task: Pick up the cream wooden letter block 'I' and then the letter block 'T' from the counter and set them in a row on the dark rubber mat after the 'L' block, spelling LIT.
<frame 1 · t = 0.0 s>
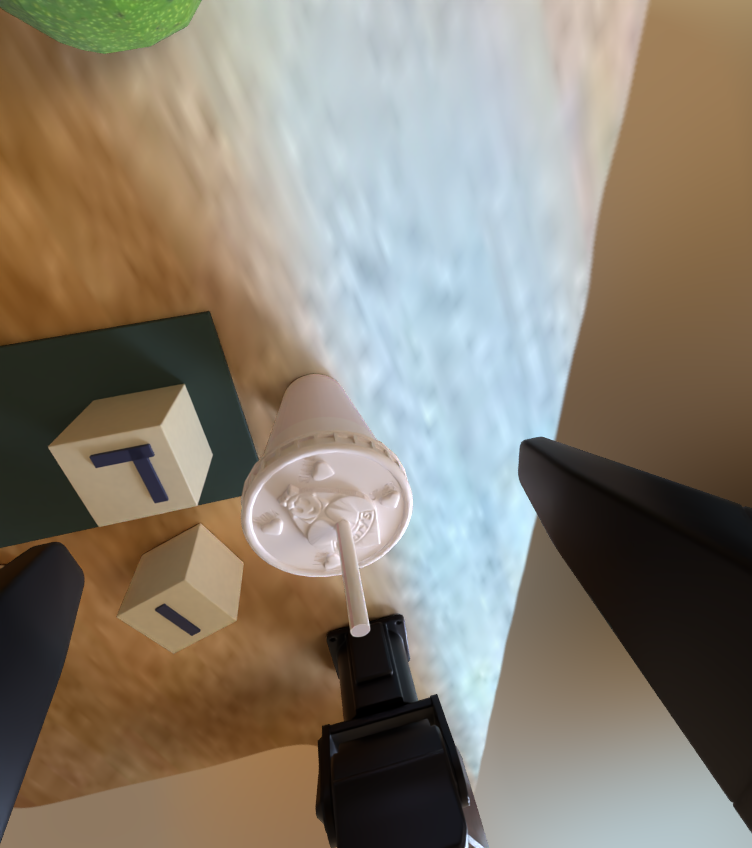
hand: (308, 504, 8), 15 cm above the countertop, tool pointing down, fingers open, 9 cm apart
tile I: (194, 558, 27), on the countertop
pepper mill: (386, 761, 46), on the countertop
tile L: (156, 429, 22), resting on word mat
smoothie: (315, 402, 23), on the countertop
word mat: (52, 446, 21), on the countertop
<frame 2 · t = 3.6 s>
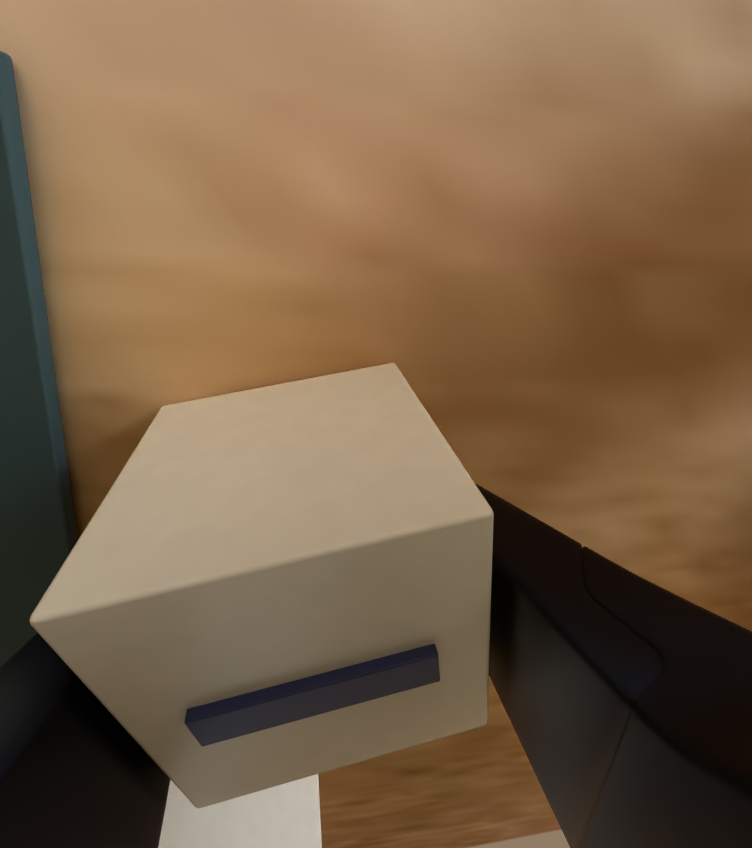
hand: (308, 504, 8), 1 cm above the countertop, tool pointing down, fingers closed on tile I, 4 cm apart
tile I: (305, 475, 9), on the countertop, touching gripper
tile T: (227, 752, 14), on the countertop
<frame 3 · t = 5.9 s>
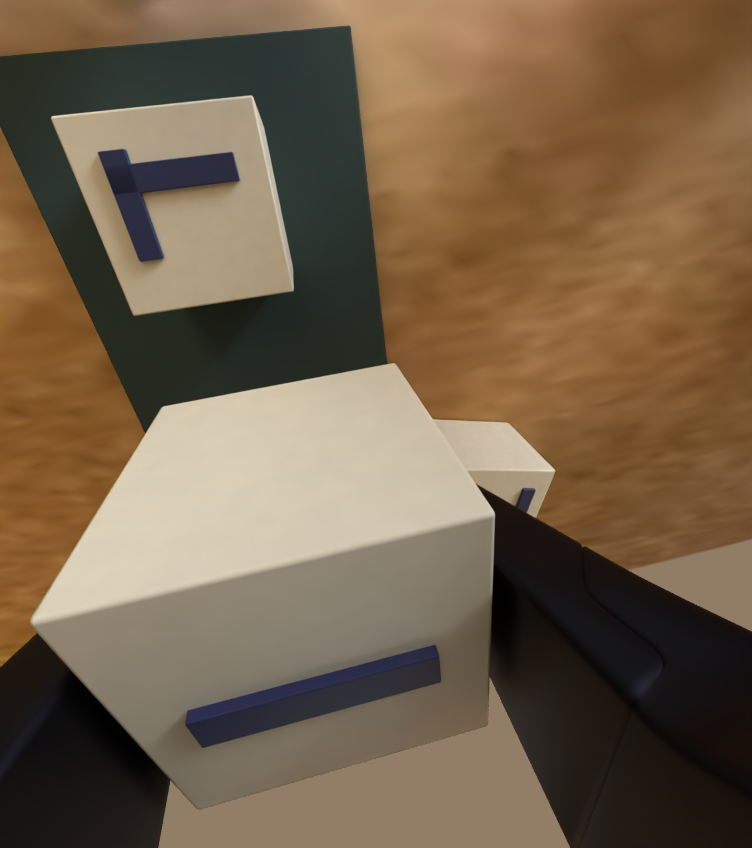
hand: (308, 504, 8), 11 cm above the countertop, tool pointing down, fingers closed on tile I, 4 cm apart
tile I: (306, 476, 9), point 10 cm above the countertop, touching gripper
tile L: (215, 211, 14), resting on word mat
tile T: (459, 456, 22), on the countertop
word mat: (257, 355, 17), on the countertop
when the fingers open (1 cm above the countertop, at t = 8.6 s): tile I stays where it is, resting on word mat.
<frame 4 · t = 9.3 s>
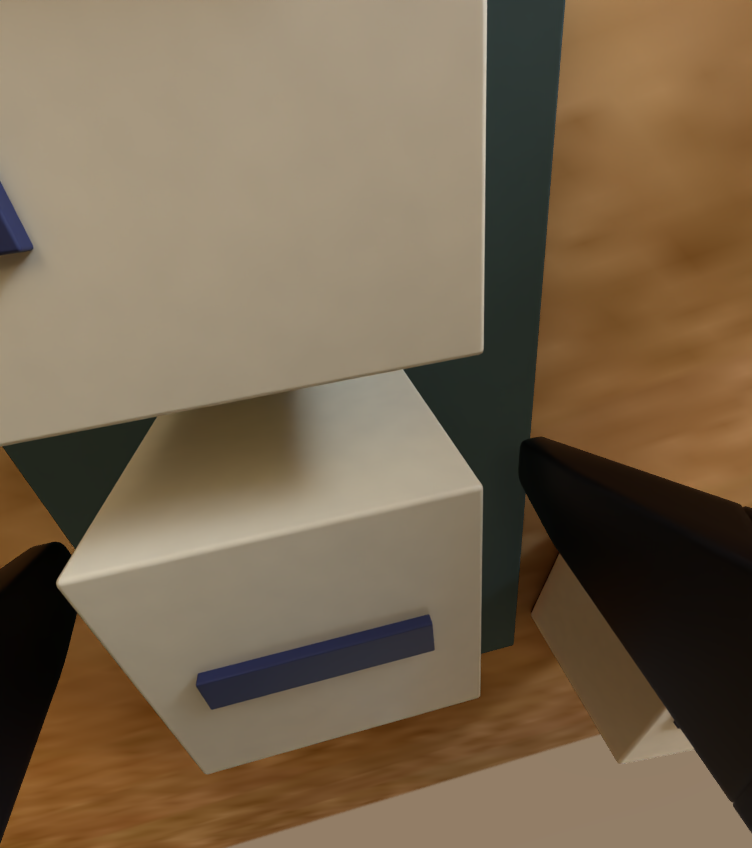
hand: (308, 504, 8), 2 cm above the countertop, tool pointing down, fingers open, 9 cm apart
tile I: (307, 464, 9), resting on word mat
tile L: (224, 148, 6), resting on word mat
tile T: (606, 566, 14), on the countertop
word mat: (301, 437, 9), on the countertop
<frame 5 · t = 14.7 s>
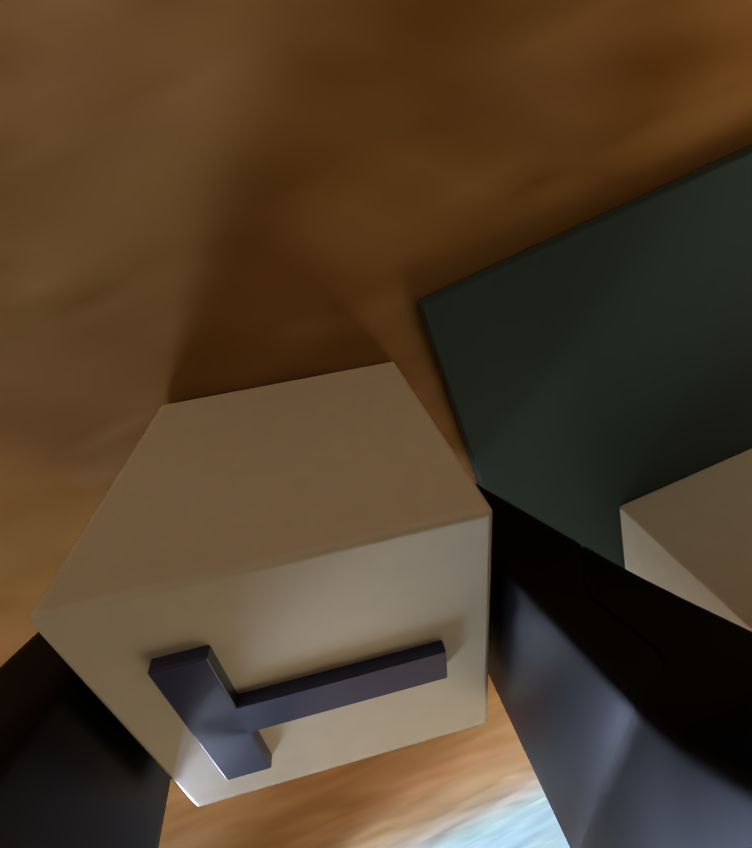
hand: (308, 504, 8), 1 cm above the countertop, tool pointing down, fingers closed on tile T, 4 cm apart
tile I: (694, 526, 12), resting on word mat
tile T: (305, 474, 9), on the countertop, touching gripper
word mat: (682, 527, 12), on the countertop
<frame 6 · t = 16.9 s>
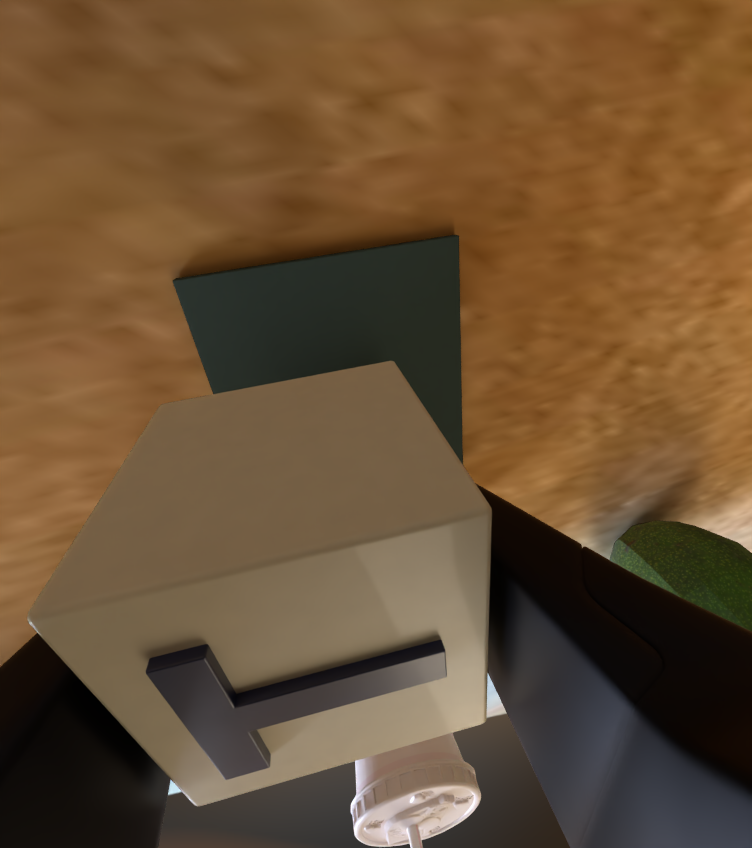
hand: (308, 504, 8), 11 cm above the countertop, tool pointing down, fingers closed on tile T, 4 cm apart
avocado: (632, 536, 28), on the countertop
smoothie: (379, 628, 28), on the countertop
tile T: (304, 473, 9), point 10 cm above the countertop, touching gripper
word mat: (357, 464, 21), on the countertop
when the fingers open (1 cm above the countertop, at t = 19.4 s): tile T stays where it is, resting on word mat.
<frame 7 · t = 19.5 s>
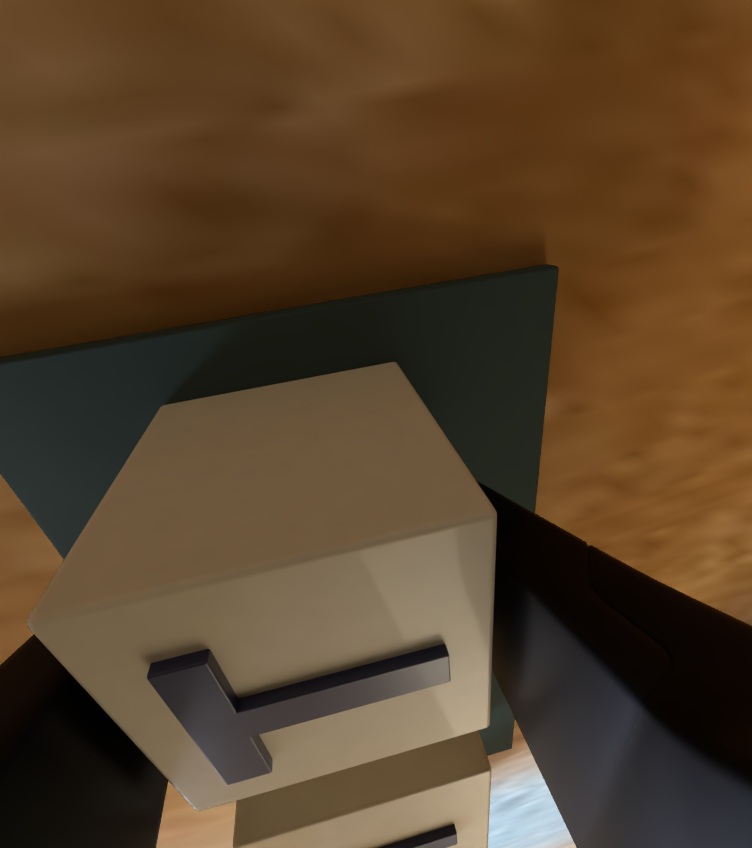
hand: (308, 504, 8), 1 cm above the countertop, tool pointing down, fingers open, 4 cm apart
tile I: (351, 638, 12), resting on word mat
tile T: (306, 475, 9), resting on word mat
word mat: (352, 635, 12), on the countertop
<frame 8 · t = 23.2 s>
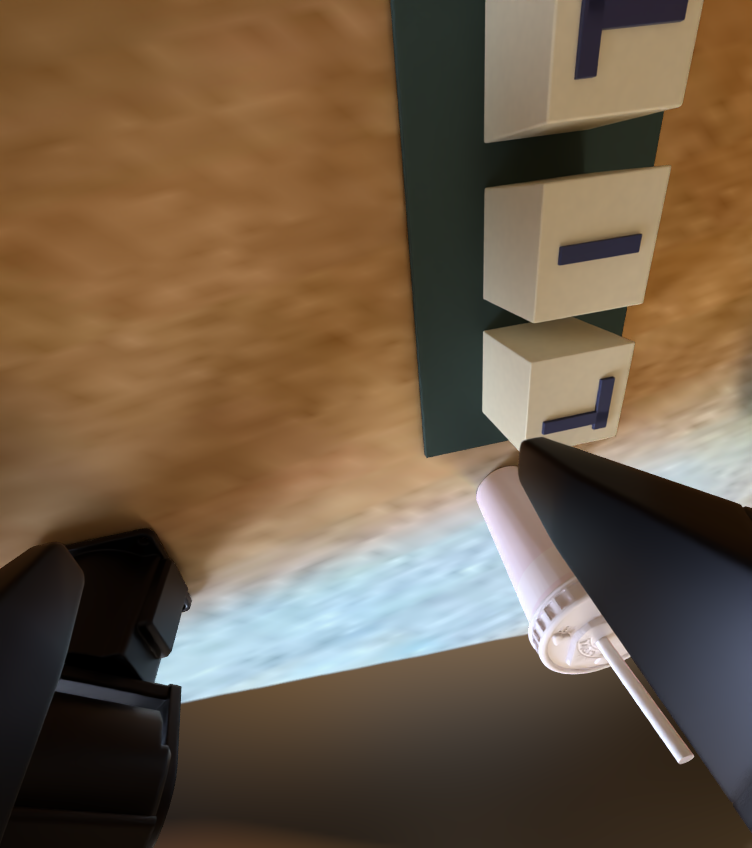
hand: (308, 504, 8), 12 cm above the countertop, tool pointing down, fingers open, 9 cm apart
tile I: (531, 239, 18), resting on word mat
tile L: (523, 365, 21), resting on word mat
smoothie: (502, 488, 25), on the countertop
tile T: (541, 62, 15), resting on word mat
word mat: (526, 250, 18), on the countertop
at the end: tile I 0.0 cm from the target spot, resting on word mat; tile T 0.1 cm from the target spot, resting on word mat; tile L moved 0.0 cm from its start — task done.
